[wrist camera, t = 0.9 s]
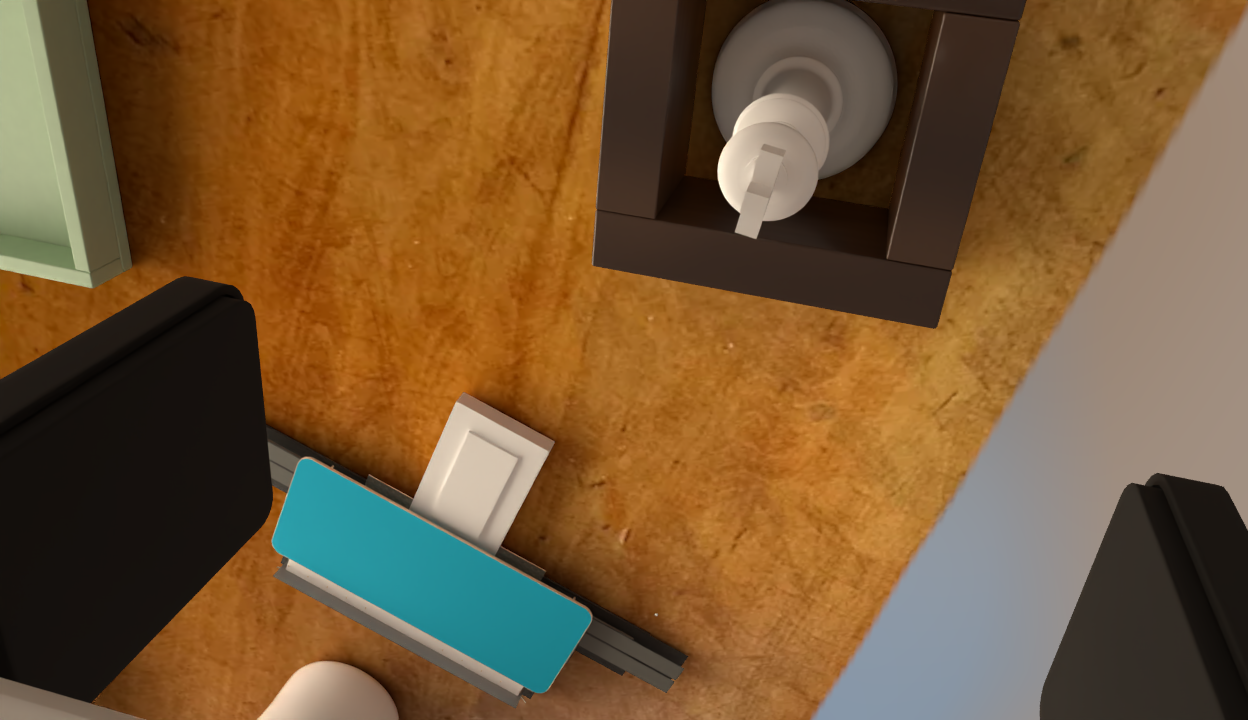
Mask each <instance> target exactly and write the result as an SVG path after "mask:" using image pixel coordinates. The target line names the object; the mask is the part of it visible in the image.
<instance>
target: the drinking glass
mask: <svg viewBox="0 0 1248 720" xmlns="http://www.w3.org/2000/svg"><path fill="white" fill-rule="evenodd" d="M257 720H399V715H398V711H397V708H396V705H395V703H394V701H393V699H392V698H391V696H390V695H389V693H388V692H387V691H386V690H385V688H384V687H383V686H382V685H381V684H380V683H379V682H378V681H376V680H375V679H374V678H373V677H371V676H370V675H369V674H367V673H365V672H364V671H362V670H360V669H358V668H356V667H353V666H351V665H348V664H345V663H340V662H335V661H319V662H314V663H311V664H308V665H306V666H304V667H302V668H300V669H299V670H297V671H296V672H295V673H294V674H293V675H292V676H291V677H290V679H289V680H288V681H287V682H286V684H285V685H284V686H283V688H282V689H281V690H280V692H279V693H278V694H277V696H276V697H275V699H274V700H273V701H272V703H271V704H270V705H269V706H268V707H267V709H266V710H265V711H264V712H263V713H262V714H261V716H260V717H259V718H258V719H257Z"/></svg>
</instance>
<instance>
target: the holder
mask: <svg viewBox="0 0 1248 720" xmlns="http://www.w3.org/2000/svg"><path fill="white" fill-rule="evenodd" d="M857 1H864V2H872V3H880V4H888V5H896V6H904V7H911V8H919V9H927V10H934V11H933V16H932V20H931V24H930V29H929V33H928V38H927V42H926V46H925V51H924V55H923V59H922V64H921V68H920V72H919V77H918V81H917V85H916V90H915V94H914V98H913V103H912V107H911V111H910V116H909V120H908V124H907V129H906V133H905V137H904V142H903V146H902V150H901V155H900V159H899V163H898V168H897V172H896V177H895V181H894V185H893V190H892V194H891V198H890V203H889V208H888V209H885V208H879V207H873V206H867V205H861V204H855V203H849V202H842V201H836V200H830V199H824V198H818V197H811V198H810V200H809V201H808V202H807V204H806V205H805V206H804V207H803V208H802V209H801V210H799V211H798V212H796V213H795V214H793V215H791V216H789V217H787V218H784V219H781V220H776V221H762V224H761V227H760V230H759V233H758V236H757V238H756V239H754V238H751V237H748V236H745V235H742V234H739V233H735V229H736V226H737V223H738V220H739V217H740V213H739V212H738V211H737V210H736V209H734V208H733V207H732V206H731V205H730V204H729V202H728V201H727V200H726V198H725V197H724V195H723V193H722V191H721V188H720V185H719V181H715V180H709V179H703V178H696V177H690V176H684V175H685V173H686V165H687V157H688V149H689V140H690V132H691V124H692V116H693V107H694V99H695V91H696V83H697V74H698V66H699V58H700V50H701V42H702V33H703V25H704V17H705V9H706V0H612V1H611V14H610V27H609V40H608V53H607V66H606V79H605V92H604V105H603V118H602V131H601V145H600V158H599V171H598V184H597V197H596V209H597V210H596V213H595V226H594V239H593V252H592V265H593V266H597V267H602V268H608V269H613V270H619V271H624V272H630V273H635V274H640V275H646V276H651V277H657V278H662V279H668V280H673V281H678V282H684V283H689V284H695V285H700V286H705V287H711V288H716V289H722V290H727V291H733V292H738V293H743V294H749V295H754V296H760V297H765V298H771V299H776V300H781V301H787V302H792V303H798V304H803V305H809V306H814V307H819V308H825V309H830V310H836V311H841V312H847V313H852V314H857V315H863V316H868V317H874V318H879V319H885V320H890V321H895V322H901V323H906V324H912V325H917V326H923V327H928V328H933V329H934V328H936V327H937V326H938V322H939V319H940V315H941V311H942V308H943V304H944V300H945V297H946V293H947V289H948V286H949V282H950V278H951V275H952V271H951V270H952V269H953V268H954V264H955V260H956V257H957V253H958V249H959V246H960V242H961V238H962V235H963V231H964V227H965V224H966V220H967V216H968V213H969V209H970V205H971V202H972V198H973V194H974V191H975V187H976V183H977V180H978V176H979V172H980V169H981V165H982V161H983V158H984V154H985V150H986V147H987V143H988V139H989V136H990V132H991V128H992V125H993V121H994V118H995V114H996V110H997V107H998V103H999V99H1000V96H1001V92H1002V88H1003V85H1004V81H1005V77H1006V74H1007V70H1008V66H1009V63H1010V59H1011V55H1012V52H1013V48H1014V44H1015V41H1016V37H1017V33H1018V30H1019V26H1020V22H1019V21H1018V20H1020V19H1021V17H1022V14H1023V11H1024V7H1025V3H1026V0H857Z"/></svg>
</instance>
